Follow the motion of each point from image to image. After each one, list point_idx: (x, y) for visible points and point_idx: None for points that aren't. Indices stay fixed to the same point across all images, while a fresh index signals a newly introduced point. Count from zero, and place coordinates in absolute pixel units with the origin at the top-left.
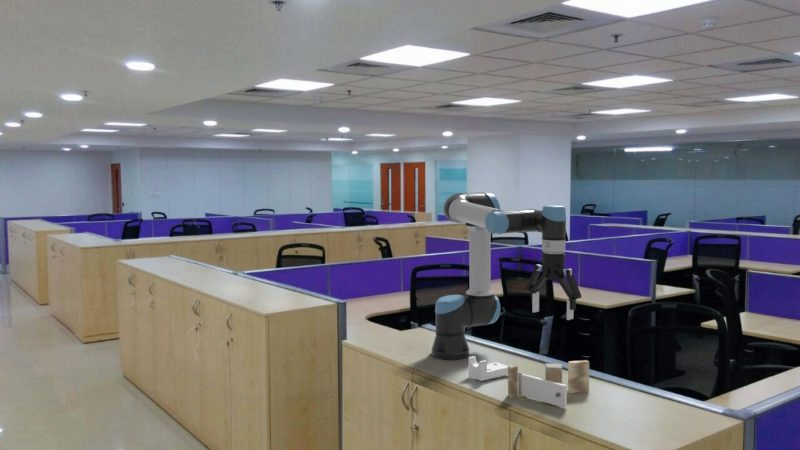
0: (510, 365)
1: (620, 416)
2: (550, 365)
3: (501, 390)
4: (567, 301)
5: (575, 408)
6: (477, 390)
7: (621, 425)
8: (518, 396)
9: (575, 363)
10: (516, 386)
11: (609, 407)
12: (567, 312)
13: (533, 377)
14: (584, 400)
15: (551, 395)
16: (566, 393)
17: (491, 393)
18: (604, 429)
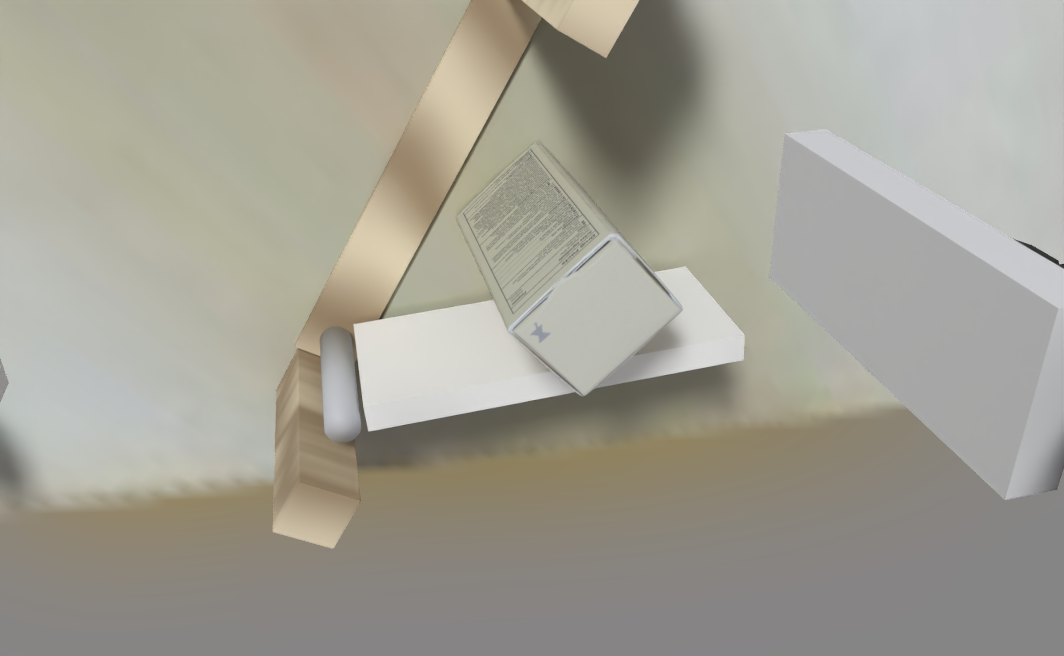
0: (292, 521)
1: (973, 108)
2: (583, 347)
3: (165, 364)
4: (990, 471)
5: (718, 217)
6: (67, 487)
7: (1013, 214)
8: None
9: (632, 8)
10: None
11: (872, 28)
12: (849, 336)
13: (475, 405)
14: (689, 51)
15: None
16: (719, 309)
17: (176, 449)
18: None
